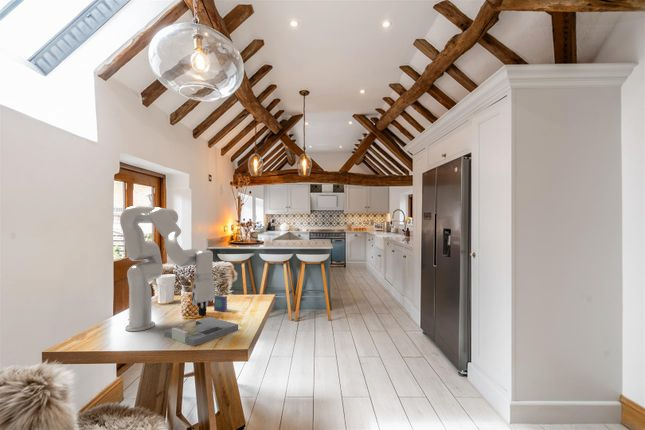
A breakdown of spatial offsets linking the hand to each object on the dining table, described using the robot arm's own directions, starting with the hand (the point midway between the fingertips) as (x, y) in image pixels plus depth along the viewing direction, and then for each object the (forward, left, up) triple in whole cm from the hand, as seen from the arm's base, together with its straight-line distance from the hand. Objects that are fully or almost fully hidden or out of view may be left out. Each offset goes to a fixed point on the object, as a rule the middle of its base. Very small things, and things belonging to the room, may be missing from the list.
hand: (202, 315), depth 148 cm
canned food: (-40, +31, -8) cm, 51 cm away
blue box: (-22, +27, -8) cm, 36 cm away
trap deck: (+1, -1, -8) cm, 8 cm away
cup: (-67, +20, -8) cm, 70 cm away
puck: (+2, -8, -5) cm, 10 cm away
